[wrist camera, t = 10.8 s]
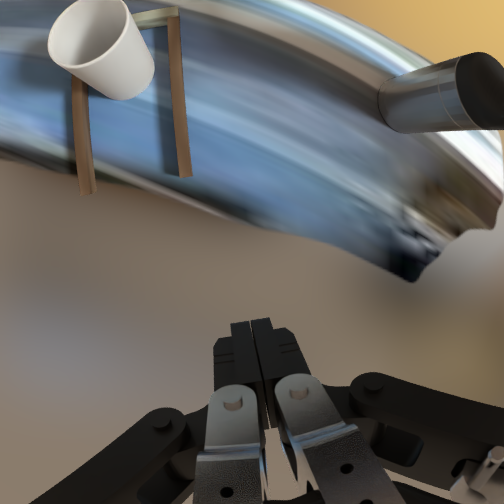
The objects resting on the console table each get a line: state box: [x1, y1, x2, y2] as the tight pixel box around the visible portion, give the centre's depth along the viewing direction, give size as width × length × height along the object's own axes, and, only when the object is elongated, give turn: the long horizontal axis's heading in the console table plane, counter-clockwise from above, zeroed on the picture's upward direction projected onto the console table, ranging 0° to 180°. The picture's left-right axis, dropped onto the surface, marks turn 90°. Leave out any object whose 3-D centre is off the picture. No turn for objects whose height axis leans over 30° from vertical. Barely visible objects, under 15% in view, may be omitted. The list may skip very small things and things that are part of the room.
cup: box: [48, 0, 155, 100], centre depth 26 cm, size 8×8×16 cm
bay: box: [72, 6, 193, 196], centre depth 33 cm, size 15×24×3 cm, turn 6°
